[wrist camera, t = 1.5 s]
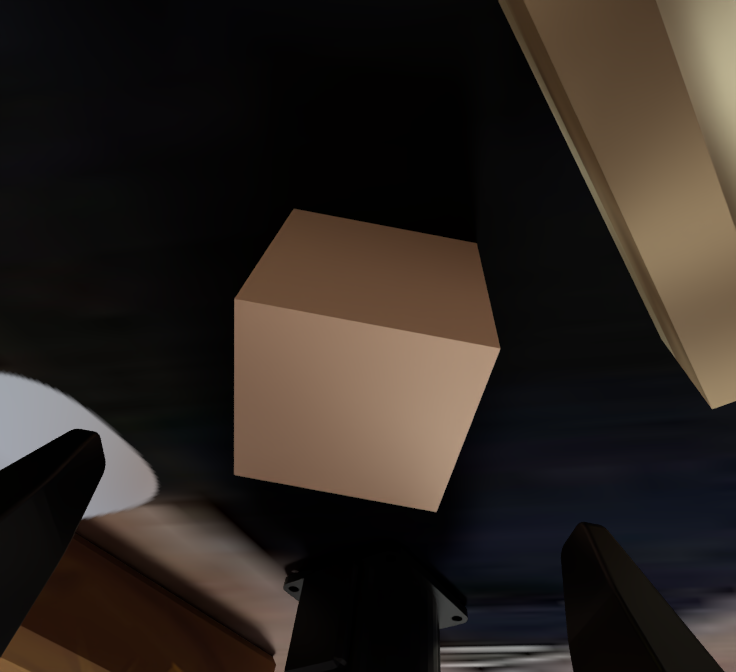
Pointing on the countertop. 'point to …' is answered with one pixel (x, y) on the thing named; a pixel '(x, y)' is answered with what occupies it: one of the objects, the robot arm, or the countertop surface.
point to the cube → (360, 359)
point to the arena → (654, 153)
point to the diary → (120, 625)
